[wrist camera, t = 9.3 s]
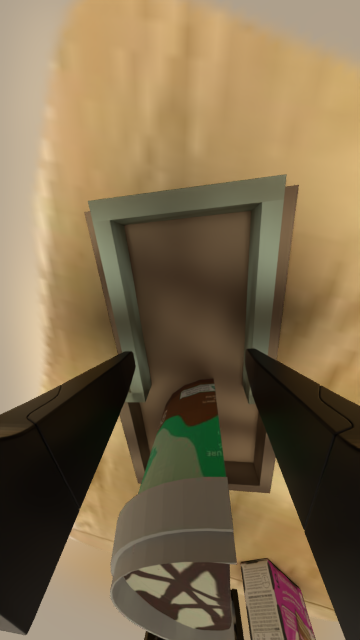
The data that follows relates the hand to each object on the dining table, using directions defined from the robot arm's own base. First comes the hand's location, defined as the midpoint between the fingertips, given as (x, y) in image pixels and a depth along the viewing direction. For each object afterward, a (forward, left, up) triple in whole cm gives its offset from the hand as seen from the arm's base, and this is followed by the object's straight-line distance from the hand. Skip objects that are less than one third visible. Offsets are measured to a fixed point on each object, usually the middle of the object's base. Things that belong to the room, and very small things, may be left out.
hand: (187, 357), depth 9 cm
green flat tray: (-6, 0, -5) cm, 8 cm away
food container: (-10, +1, -5) cm, 11 cm away
